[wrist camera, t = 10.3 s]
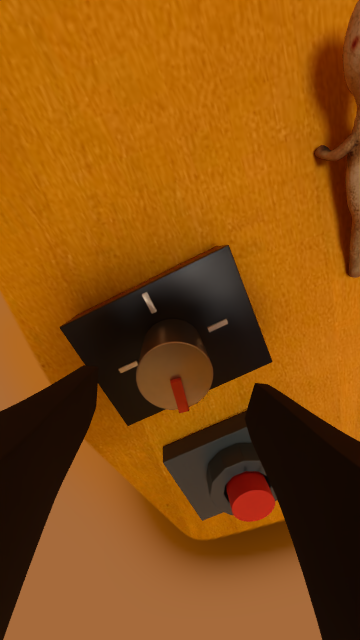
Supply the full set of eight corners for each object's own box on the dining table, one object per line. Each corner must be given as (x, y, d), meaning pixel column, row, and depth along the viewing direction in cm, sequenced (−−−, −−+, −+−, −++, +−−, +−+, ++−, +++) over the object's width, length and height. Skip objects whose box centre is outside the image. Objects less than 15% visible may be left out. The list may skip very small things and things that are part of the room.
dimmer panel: (133, 401, 20) (127, 428, 17) (76, 315, 17) (57, 328, 14) (256, 345, 19) (273, 363, 16) (217, 245, 16) (229, 244, 13)
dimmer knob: (135, 326, 15) (124, 356, 10) (194, 311, 14) (205, 335, 10) (152, 377, 16) (148, 422, 12) (206, 364, 16) (221, 403, 12)
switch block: (199, 502, 24) (205, 543, 21) (162, 446, 21) (162, 482, 18) (301, 461, 23) (324, 496, 20) (277, 397, 21) (298, 425, 17)
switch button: (234, 504, 20) (240, 527, 18) (219, 479, 19) (225, 501, 17) (270, 489, 20) (280, 511, 18) (258, 463, 19) (267, 484, 17)
